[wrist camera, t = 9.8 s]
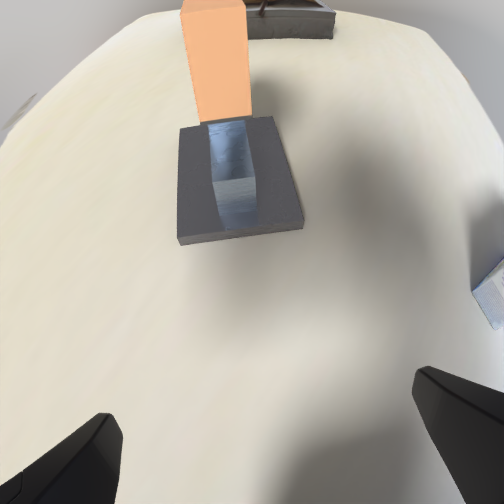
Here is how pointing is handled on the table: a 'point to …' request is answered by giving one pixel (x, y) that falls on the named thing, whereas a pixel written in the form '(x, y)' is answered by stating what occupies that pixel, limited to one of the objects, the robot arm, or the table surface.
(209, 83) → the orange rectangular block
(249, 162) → the stand
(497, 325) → the medicine box
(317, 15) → the bible
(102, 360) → the table surface
